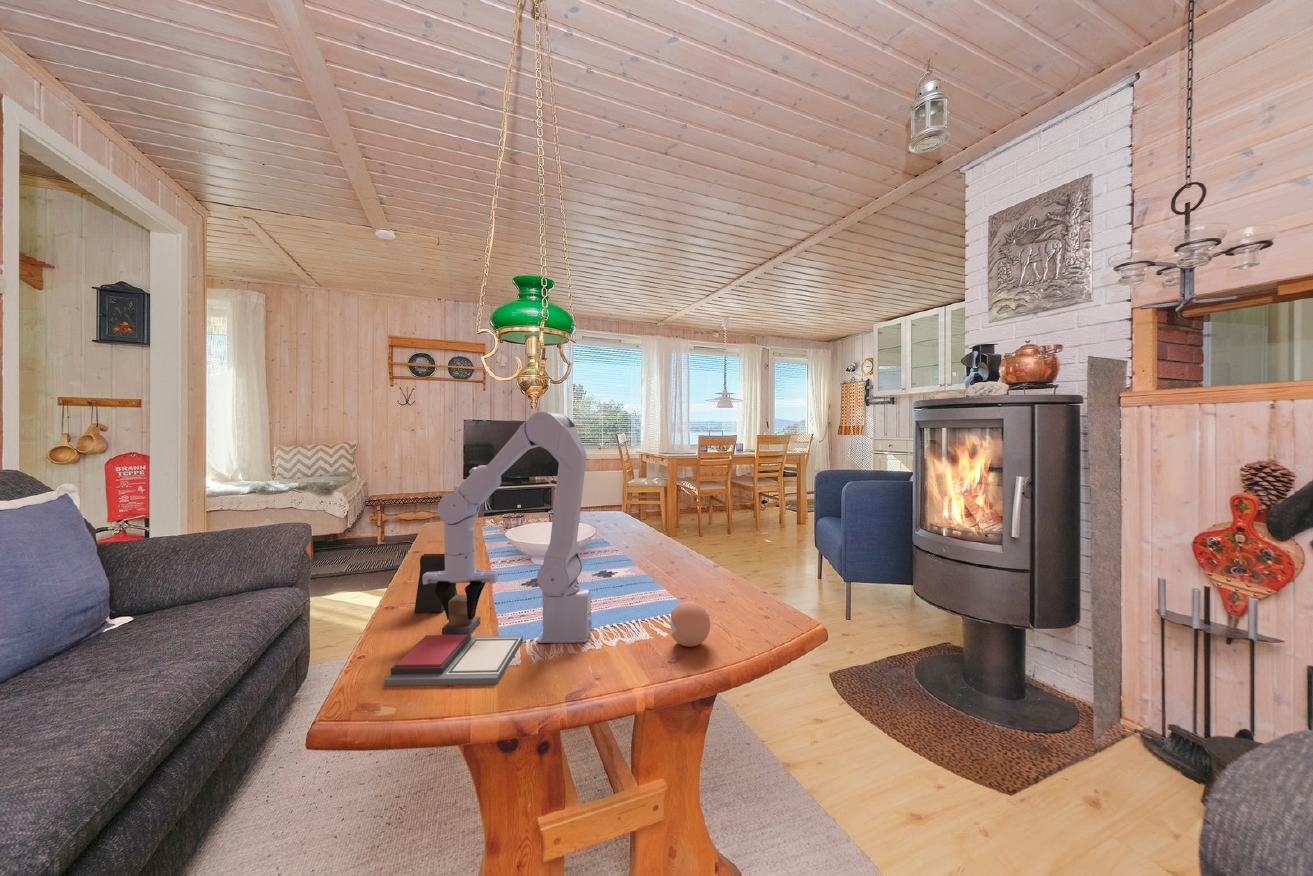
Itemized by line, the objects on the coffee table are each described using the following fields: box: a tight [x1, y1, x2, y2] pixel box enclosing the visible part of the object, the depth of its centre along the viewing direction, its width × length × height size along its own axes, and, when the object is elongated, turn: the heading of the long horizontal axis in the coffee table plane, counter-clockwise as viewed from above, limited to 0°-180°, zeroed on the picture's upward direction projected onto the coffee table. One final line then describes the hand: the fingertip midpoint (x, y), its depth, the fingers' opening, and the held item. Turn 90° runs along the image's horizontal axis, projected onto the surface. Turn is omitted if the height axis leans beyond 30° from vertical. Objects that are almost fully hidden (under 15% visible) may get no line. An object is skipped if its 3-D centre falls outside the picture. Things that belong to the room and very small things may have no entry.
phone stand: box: [413, 553, 458, 614], centre depth 108 cm, size 9×6×12 cm, turn 0°
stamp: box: [441, 594, 481, 635], centre depth 95 cm, size 6×6×6 cm
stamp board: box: [383, 634, 524, 687], centre depth 82 cm, size 18×15×2 cm
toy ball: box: [669, 600, 711, 648], centre depth 87 cm, size 8×8×8 cm
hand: (461, 617), depth 95 cm, fingers closed on stamp, 4 cm apart
